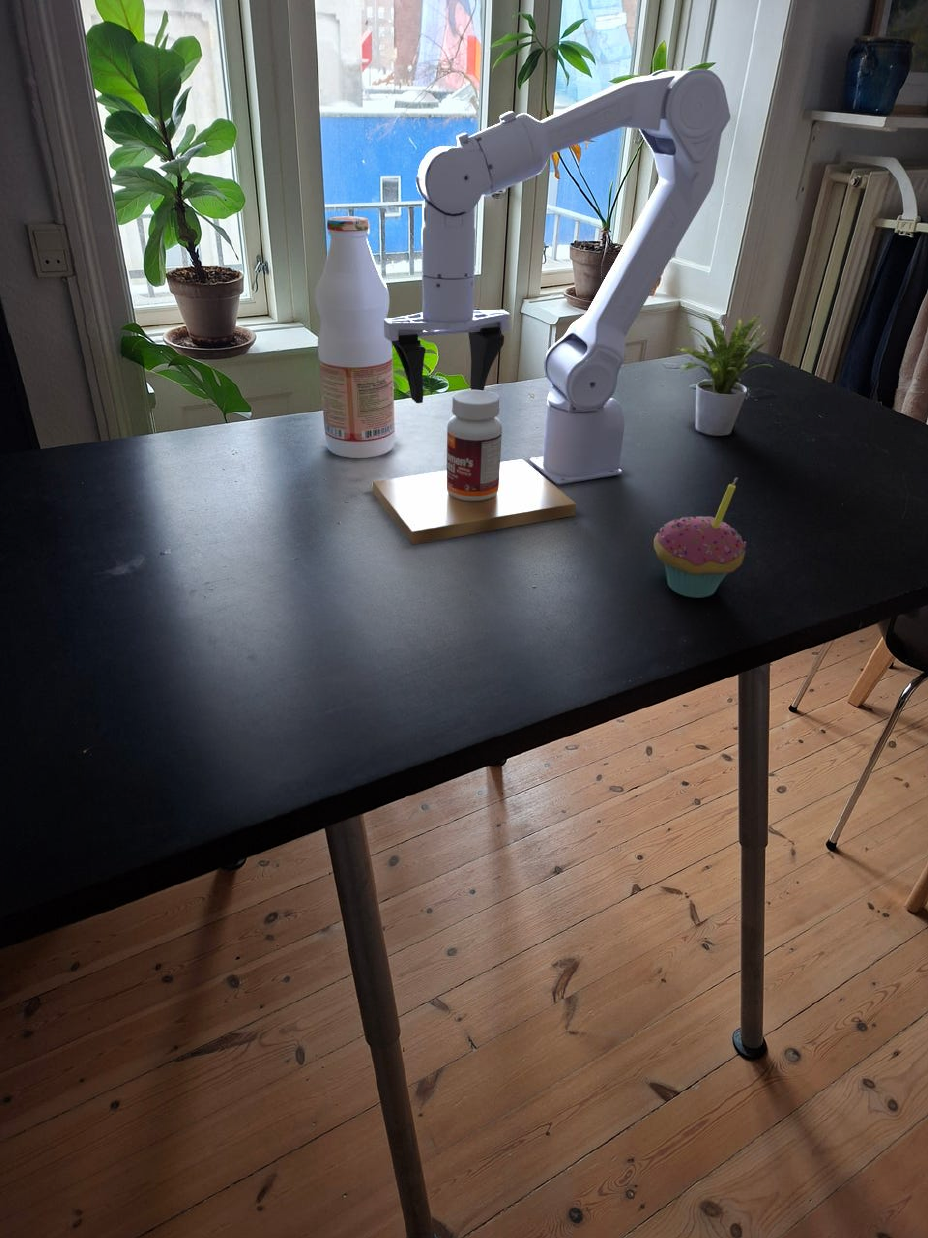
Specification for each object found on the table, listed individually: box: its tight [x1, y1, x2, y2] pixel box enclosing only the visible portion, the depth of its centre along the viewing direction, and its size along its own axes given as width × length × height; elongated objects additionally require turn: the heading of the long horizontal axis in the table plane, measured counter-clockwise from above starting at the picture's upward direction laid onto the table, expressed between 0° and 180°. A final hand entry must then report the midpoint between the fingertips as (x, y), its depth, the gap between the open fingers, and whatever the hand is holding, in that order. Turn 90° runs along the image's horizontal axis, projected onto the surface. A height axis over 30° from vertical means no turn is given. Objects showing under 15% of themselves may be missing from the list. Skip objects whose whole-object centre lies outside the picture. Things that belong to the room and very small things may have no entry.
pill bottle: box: [446, 389, 503, 501], centre depth 91 cm, size 6×6×11 cm
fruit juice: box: [314, 215, 396, 459], centre depth 102 cm, size 9×9×28 cm
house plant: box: [674, 312, 775, 436], centre depth 114 cm, size 14×14×16 cm
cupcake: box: [653, 477, 747, 599], centre depth 77 cm, size 9×8×12 cm
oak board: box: [372, 458, 577, 546], centre depth 94 cm, size 20×14×2 cm
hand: (447, 396), depth 95 cm, fingers open, 7 cm apart
